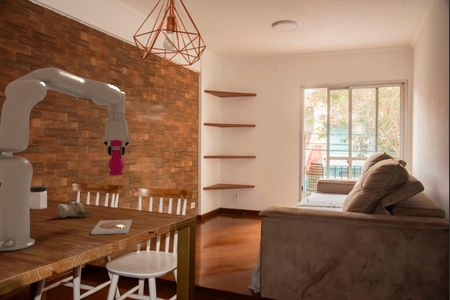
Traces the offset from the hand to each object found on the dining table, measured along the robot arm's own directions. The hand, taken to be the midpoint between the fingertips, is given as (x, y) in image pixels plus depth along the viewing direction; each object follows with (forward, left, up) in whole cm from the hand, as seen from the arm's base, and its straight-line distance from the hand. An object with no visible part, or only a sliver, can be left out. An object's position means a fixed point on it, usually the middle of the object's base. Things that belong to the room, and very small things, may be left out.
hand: (116, 155), depth 164 cm
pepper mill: (0, 0, -10) cm, 10 cm away
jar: (+38, +47, -31) cm, 68 cm away
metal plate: (-16, -1, -31) cm, 35 cm away
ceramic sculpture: (+11, +22, -31) cm, 40 cm away
